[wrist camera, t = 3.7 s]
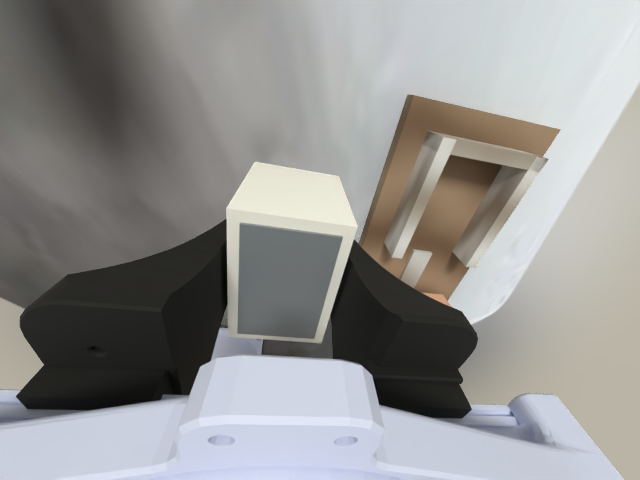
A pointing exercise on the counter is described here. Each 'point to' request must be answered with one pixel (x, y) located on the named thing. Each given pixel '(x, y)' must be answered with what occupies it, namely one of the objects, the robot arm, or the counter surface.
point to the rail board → (449, 190)
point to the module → (286, 253)
